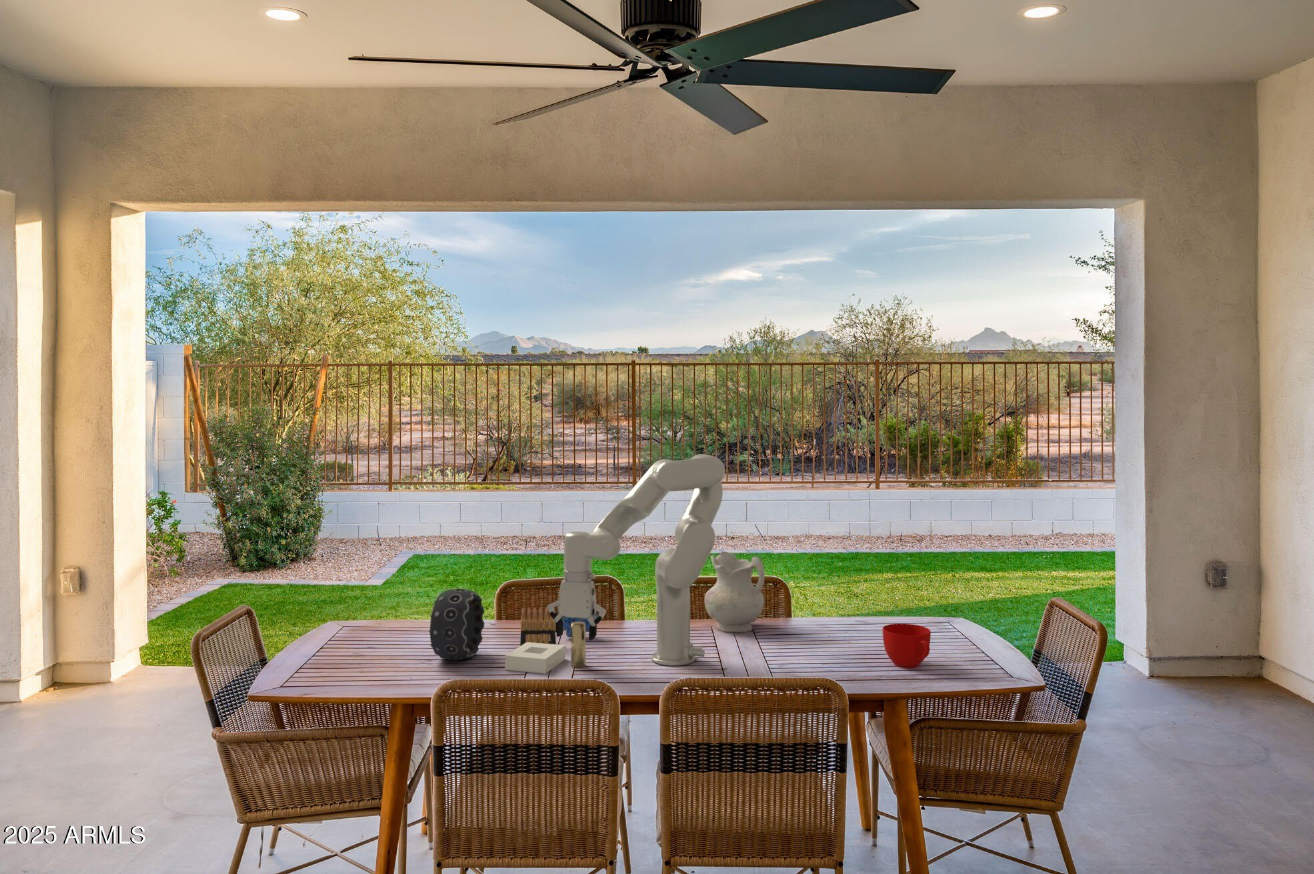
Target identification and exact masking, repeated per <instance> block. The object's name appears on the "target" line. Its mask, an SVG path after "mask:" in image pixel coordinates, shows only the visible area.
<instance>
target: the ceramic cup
mask: <svg viewBox="0 0 1314 874" xmlns="http://www.w3.org/2000/svg"><path fill="white" fill-rule="evenodd" d="M931 633H932V632H931V629H929V628H927V627H925V626H923V625H918V624H912V623H891V624H886V625H884V626H882V642H883V647H884V650H885V653H886V655H887V656H888V658H889V659H890V661H891V662H892V663H893V665H895V666H896V667H899V668H903V669H905V668H906V669H914V668H918V667H919V665H921V663H922V662H923V661H925V659H926V658H927V657H928V656H929V654H930V651H931V647H930V646H931V645H930V643H931Z"/></svg>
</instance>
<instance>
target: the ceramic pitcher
mask: <svg viewBox="0 0 1314 874" xmlns="http://www.w3.org/2000/svg"><path fill="white" fill-rule="evenodd" d="M710 561H711V563H712V566H713V568H714V570H715V572H716V582H715V584H714V585H713V586H712V587H711V588H710V589H708V591H706V593H705V594H704V604H705V610H706V612H707V614H708V615H709V617H710V618H711V619H712V620H713V621H715V622H717V623H718V624H717V626H716V629H718V630H719V631H721V632H724V633H746V632H749V631H753V626H752V625H751V624H752V623H754V622H755V621H756V620H758V618H759V617H760V615H761V614H762V612H763V609H764V605H765V599H764V598H765V597H764V593H762V589H763V586H764V584H765V567H764V564H763V561H762V558H761V557H759V556H751V561H749V560H748V559H744V558H741V559H740V558H739V559H738V558H737V557H736V555H735V553H730V552H728V551H721V552H719V553H718V555H717V556H716V557H715V556H714V555H710ZM754 569H756V570H757V573H758V574H757V575H758V579H757V582H756V584H755V585H754V584H753V582H752V576H753V572H754Z"/></svg>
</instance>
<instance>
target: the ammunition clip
mask: <svg viewBox="0 0 1314 874" xmlns="http://www.w3.org/2000/svg"><path fill="white" fill-rule="evenodd" d="M520 615H521V617H520V618H521V619H520V640H519V641H520V642H519V644H520V645H519V647H520V646H522V645H523V644H525V643H526V642H532V643H544V644H556V645H557V633H556V632H555V629H556V622H554V619H553V618H552V617H551V616H550V612H549V610H548V608H547V606H546V607H545V610H544V614H543V609H542V607H541V606H540V607H539V610H537V608H536V607H534V608H533V611H531V607H528V608H527V613H526V610H525V607H524V606H523V607H522V608H521V614H520ZM526 615H527V616H526Z"/></svg>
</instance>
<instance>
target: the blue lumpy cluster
mask: <svg viewBox="0 0 1314 874" xmlns="http://www.w3.org/2000/svg"><path fill="white" fill-rule="evenodd" d="M594 616H595V617H596V618H597V617H598V616H599V615H598V614H597V613H596V614H595V615H594ZM562 620H563V632H565V636H567V638H571V623H572V622H585V633H589V626H591V624H590V622H589V621H588V620H587V619H583V618H572V617H563V618H562Z"/></svg>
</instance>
